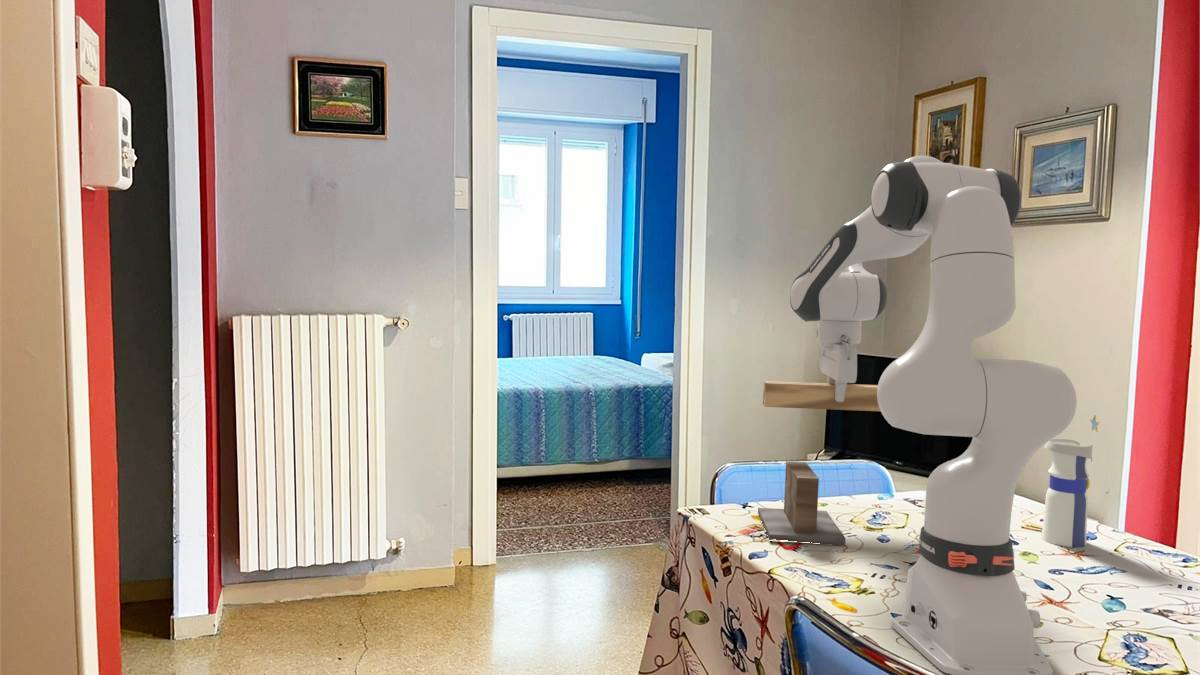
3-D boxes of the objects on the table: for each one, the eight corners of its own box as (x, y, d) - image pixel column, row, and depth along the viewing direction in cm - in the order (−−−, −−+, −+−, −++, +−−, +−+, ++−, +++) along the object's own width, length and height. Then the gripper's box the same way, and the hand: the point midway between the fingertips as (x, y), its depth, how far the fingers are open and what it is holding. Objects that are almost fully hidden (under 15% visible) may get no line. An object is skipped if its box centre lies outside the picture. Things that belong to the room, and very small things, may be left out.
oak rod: (911, 412, 174) (912, 388, 174) (764, 406, 177) (765, 383, 176) (905, 409, 178) (907, 386, 178) (762, 404, 181) (763, 380, 180)
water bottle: (1063, 532, 169) (1071, 409, 167) (1098, 545, 160) (1108, 416, 159) (1029, 534, 167) (1037, 410, 165) (1063, 548, 158) (1072, 417, 156)
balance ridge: (845, 545, 157) (848, 482, 156) (769, 542, 157) (771, 479, 157) (825, 518, 174) (828, 461, 174) (757, 514, 175) (760, 458, 174)
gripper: (866, 338, 166) (863, 407, 167) (844, 331, 186) (841, 393, 187) (834, 337, 166) (831, 406, 167) (815, 330, 187) (812, 392, 188)
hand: (836, 399), depth 177 cm, fingers closed on oak rod, 4 cm apart
